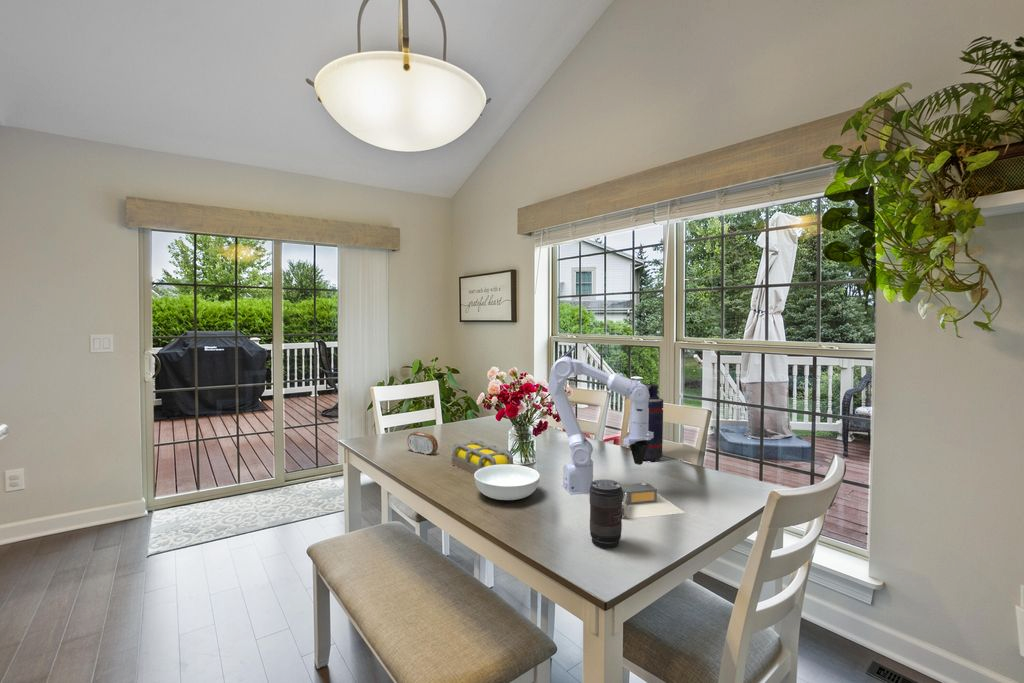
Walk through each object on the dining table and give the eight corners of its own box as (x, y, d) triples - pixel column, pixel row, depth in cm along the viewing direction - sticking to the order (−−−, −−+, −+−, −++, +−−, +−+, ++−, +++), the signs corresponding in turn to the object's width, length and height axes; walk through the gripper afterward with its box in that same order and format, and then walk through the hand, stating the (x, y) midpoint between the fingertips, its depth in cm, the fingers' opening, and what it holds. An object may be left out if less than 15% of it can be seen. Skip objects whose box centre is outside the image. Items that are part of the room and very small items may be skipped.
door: (624, 504, 144) (624, 492, 144) (628, 505, 144) (628, 492, 143) (620, 518, 134) (620, 504, 134) (624, 518, 134) (624, 505, 134)
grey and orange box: (623, 505, 144) (623, 490, 143) (614, 498, 149) (614, 483, 149) (656, 502, 146) (657, 487, 146) (646, 495, 152) (647, 480, 152)
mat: (628, 519, 134) (628, 518, 134) (604, 498, 150) (604, 497, 150) (685, 513, 138) (685, 512, 138) (656, 493, 154) (656, 492, 154)
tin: (438, 455, 197) (438, 434, 197) (433, 456, 194) (433, 436, 194) (411, 449, 205) (411, 430, 205) (406, 451, 202) (406, 431, 202)
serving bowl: (486, 512, 139) (486, 489, 139) (466, 488, 159) (466, 468, 158) (551, 502, 147) (551, 480, 147) (523, 480, 166) (523, 461, 166)
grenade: (643, 452, 202) (644, 381, 200) (668, 458, 192) (669, 384, 191) (622, 458, 193) (623, 384, 191) (647, 465, 184) (648, 387, 182)
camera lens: (617, 534, 125) (617, 478, 124) (625, 549, 117) (626, 489, 116) (586, 535, 125) (586, 478, 124) (592, 550, 117) (593, 489, 116)
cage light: (475, 436, 196) (522, 453, 172) (476, 455, 196) (522, 475, 173) (444, 442, 187) (488, 460, 163) (444, 462, 188) (488, 483, 164)
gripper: (637, 427, 144) (636, 471, 145) (662, 420, 154) (661, 461, 155) (617, 423, 150) (617, 466, 150) (642, 417, 160) (642, 457, 160)
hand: (638, 463), depth 153 cm, fingers closed
